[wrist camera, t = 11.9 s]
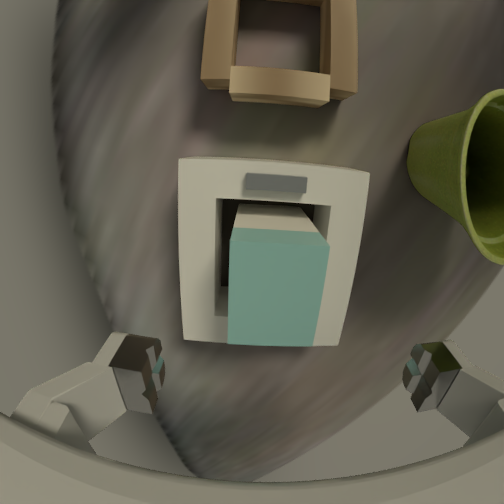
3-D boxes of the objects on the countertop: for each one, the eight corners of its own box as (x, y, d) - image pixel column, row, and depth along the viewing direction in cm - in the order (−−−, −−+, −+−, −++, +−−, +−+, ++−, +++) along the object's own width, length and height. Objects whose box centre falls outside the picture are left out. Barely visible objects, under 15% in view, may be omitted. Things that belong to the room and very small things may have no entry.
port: (347, 167, 18) (373, 173, 14) (325, 314, 22) (339, 350, 18) (193, 156, 18) (176, 159, 14) (194, 308, 22) (182, 344, 17)
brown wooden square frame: (341, -6, 14) (354, -24, 11) (341, 111, 17) (356, 106, 14) (219, -17, 13) (214, -38, 11) (207, 101, 17) (199, 92, 14)
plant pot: (421, 246, 20) (489, 298, 12) (359, 141, 18) (431, 142, 9) (490, 181, 18) (564, 205, 10) (442, 80, 15) (521, 65, 7)
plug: (300, 207, 19) (330, 246, 12) (292, 276, 21) (312, 346, 13) (239, 203, 19) (229, 240, 12) (236, 273, 21) (227, 343, 13)
